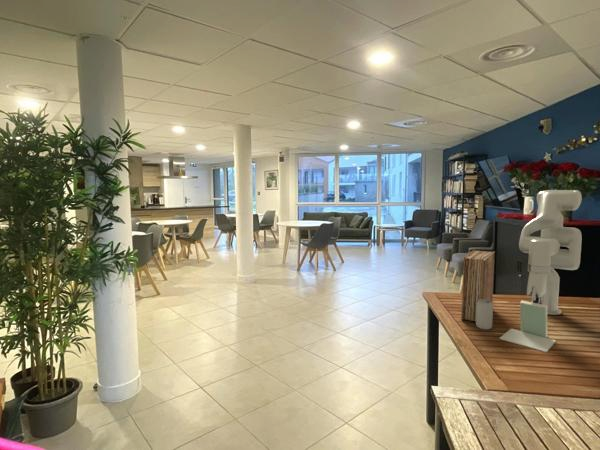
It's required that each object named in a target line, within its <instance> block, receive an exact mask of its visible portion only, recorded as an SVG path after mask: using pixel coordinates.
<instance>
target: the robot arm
mask: <svg viewBox="0 0 600 450" xmlns="http://www.w3.org/2000/svg"><path fill="white" fill-rule="evenodd" d="M582 199H583V197H582V193H581V191H580V190H577V189H576V190H574V189H547V190H542V191H539V192H538V193H537V195H536V203H537V206H538V207H537V212H536V217H535V218H532V219H531V220H530V221H529V222H527V223H526V224H525V225H524V226H523V228H522V230H521V233H520V237H519V241H518V247H519V250H520V251H521V252H522V253H525V254H528V263H527V272H528V273H529V274H528V279H527V286H526V296H527V297H529V296H531V302H533V303H538V304H542V305H547V315H550V316H557V315H561V314H562V310H561V309H560V308H559V307H558V306H559V296H560V295H559V293H560V281H561V280H560V279H561V277H560V276H559V274H558V272H557V271H556V270H555V269H559V270H566V271H575V270H576V271H577V270H578V269H579V268H580V264H581V257H582V256H581V254H582V253H581V252H582V241H583V239H582V236H583V235H582V232H581V230H580V229H579V228H576V227H570V226H569V227H567V226H564V216H563V214H562V213H561V211H576V210H578V209H579V207H580V205H581V203H582ZM538 231H540V236H532V235H531V234H533V233H535V232H538ZM561 247H564V248H565V247H566V248H567V249H564V248H563V249H562V248H561Z"/></svg>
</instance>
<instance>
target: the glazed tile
mask: <svg viewBox="0 0 600 450" xmlns="http://www.w3.org/2000/svg"><path fill="white" fill-rule="evenodd" d="M519 305H520V306H519V308H520V331H522V332H526V333H530V334H534V335H537V336H541V337H545V338H548V337H547V336H548V314H547V305H542V304H538V303H533V302H532V301H527V300H520V302H519Z"/></svg>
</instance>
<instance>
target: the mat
mask: <svg viewBox="0 0 600 450" xmlns="http://www.w3.org/2000/svg"><path fill="white" fill-rule="evenodd" d="M499 340H501V341H505V342H509V343H512V344H515V345H519V346H522V347H525V348H530V349H533V350H536V351H539V352H542V353H543V352H544V353H548V351H549V350H550V349H551V348H552V347H553V345H554V344H555V343H556V341H557V340H555V339H552V338H549V337H546V338H545V337H541V336H537V335H534V334H530V333H526V332H522V331H521V330H518V329H515V328H510V329H508V330H507V332H505V333H504V334H503V335H502V336H500V337H499Z"/></svg>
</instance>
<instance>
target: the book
mask: <svg viewBox="0 0 600 450" xmlns="http://www.w3.org/2000/svg"><path fill="white" fill-rule="evenodd" d="M495 253H496V251H495V250H486V249H485V250H484V249H477V248H475V249H473V250H472V251H470V252H469V253H467V254H466V255H464V256H463V264H462V265H463V268H462V269H463V270H462V290H461V292H462V295H461V296H462V297H461V315H460V316H461V318H460V320H461V321H463V320H466V321H472V322H475V323H476V308H477V302H478V300H480V299H484V300H489V301H492V302H493V299H494V297H493V294H494V279H495V277H494V274H495V256H496V255H495Z"/></svg>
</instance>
